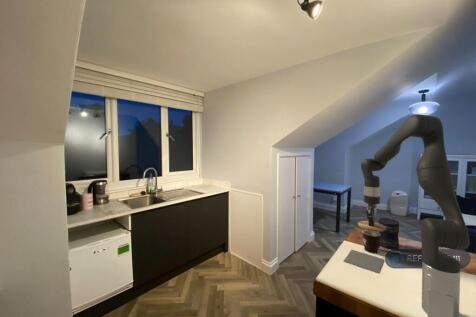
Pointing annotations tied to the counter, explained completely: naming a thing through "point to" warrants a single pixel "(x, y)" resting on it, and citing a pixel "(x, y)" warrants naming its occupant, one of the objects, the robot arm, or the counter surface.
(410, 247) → the counter surface
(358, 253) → the mat
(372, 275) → the counter surface
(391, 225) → the storage jar
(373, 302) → the counter surface
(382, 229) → the lid
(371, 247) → the coffee mug
